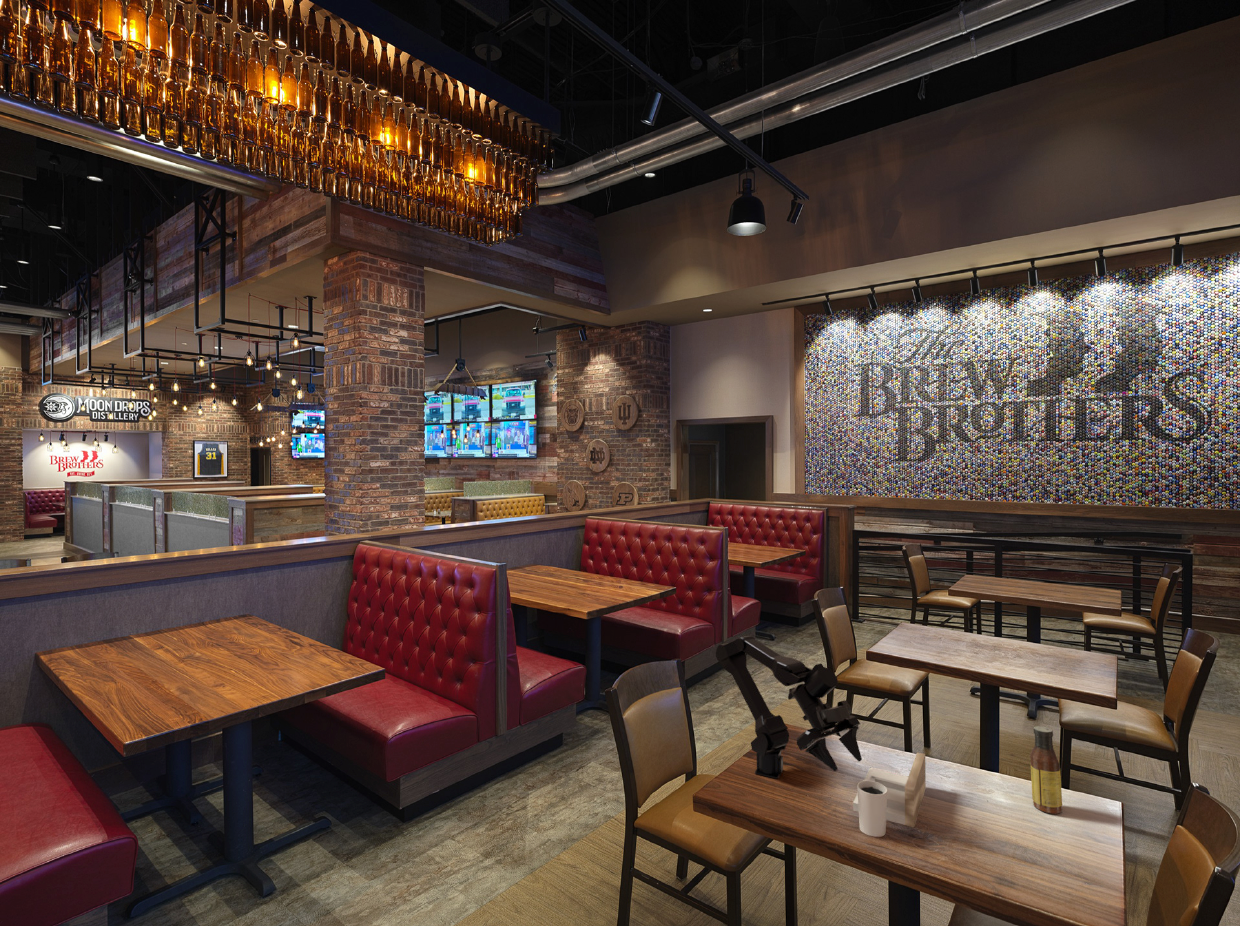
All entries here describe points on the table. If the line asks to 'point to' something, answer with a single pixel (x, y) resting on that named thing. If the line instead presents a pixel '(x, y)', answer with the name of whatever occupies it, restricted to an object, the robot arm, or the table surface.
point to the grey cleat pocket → (889, 793)
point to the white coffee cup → (872, 808)
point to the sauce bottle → (1045, 773)
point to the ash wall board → (915, 790)
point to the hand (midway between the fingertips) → (848, 765)
